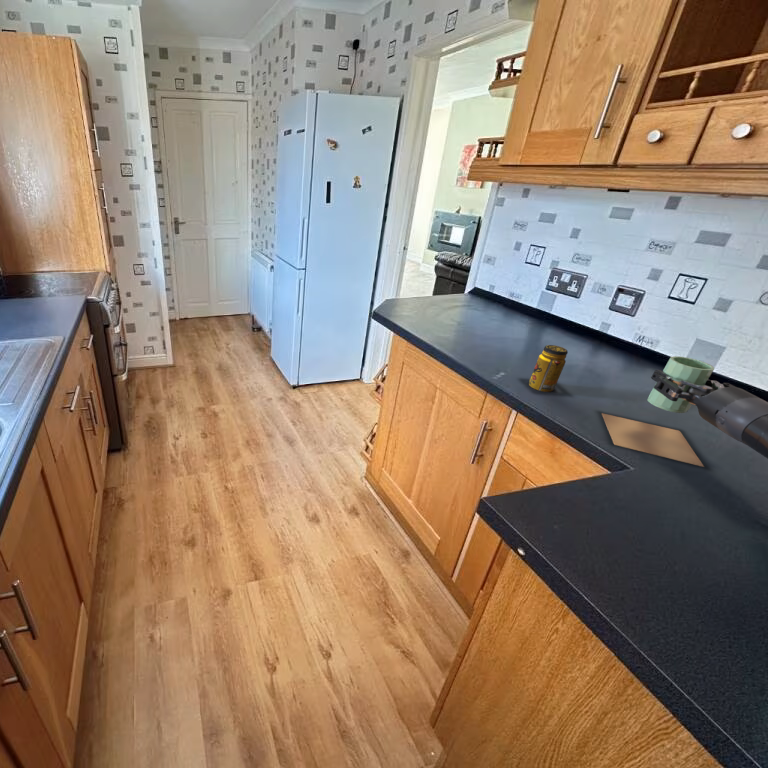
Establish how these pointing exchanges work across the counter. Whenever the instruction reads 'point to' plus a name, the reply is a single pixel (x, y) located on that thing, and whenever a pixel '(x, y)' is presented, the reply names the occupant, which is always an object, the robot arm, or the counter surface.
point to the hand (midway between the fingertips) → (673, 375)
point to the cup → (682, 371)
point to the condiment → (548, 368)
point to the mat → (650, 439)
